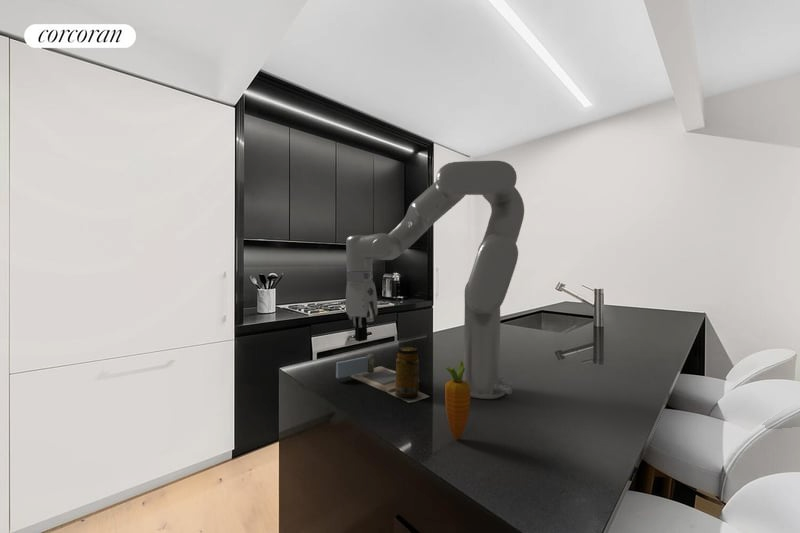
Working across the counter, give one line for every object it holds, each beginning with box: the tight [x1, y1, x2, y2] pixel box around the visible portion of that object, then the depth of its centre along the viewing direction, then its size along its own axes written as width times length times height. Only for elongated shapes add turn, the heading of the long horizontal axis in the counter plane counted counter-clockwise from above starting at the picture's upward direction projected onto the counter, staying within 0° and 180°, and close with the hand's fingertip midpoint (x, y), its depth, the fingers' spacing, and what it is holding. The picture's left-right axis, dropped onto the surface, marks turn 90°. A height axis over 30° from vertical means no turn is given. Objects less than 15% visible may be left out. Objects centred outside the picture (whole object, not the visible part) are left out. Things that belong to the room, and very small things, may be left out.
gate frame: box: [350, 353, 420, 394], centre depth 99 cm, size 17×12×6 cm
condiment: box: [387, 346, 431, 404], centre depth 87 cm, size 7×8×12 cm
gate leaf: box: [335, 356, 368, 379], centre depth 99 cm, size 10×1×4 cm, turn 130°
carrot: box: [444, 360, 471, 441], centre depth 65 cm, size 5×5×15 cm
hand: (361, 340), depth 98 cm, fingers closed
